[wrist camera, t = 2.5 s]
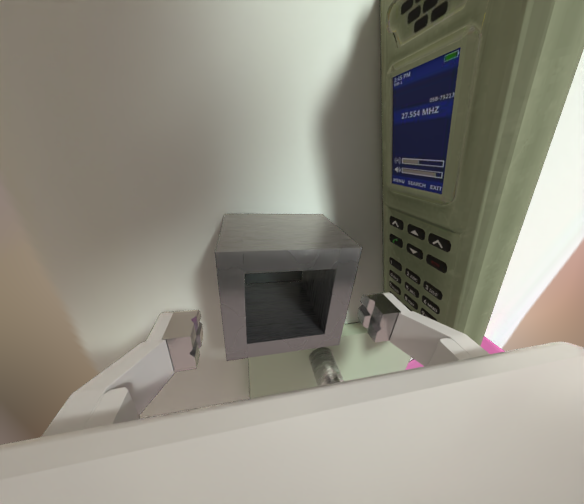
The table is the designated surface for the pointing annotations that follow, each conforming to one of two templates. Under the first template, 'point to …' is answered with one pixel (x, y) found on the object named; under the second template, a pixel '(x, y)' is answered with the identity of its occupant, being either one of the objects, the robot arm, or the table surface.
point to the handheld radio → (466, 142)
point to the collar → (283, 295)
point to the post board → (344, 354)
